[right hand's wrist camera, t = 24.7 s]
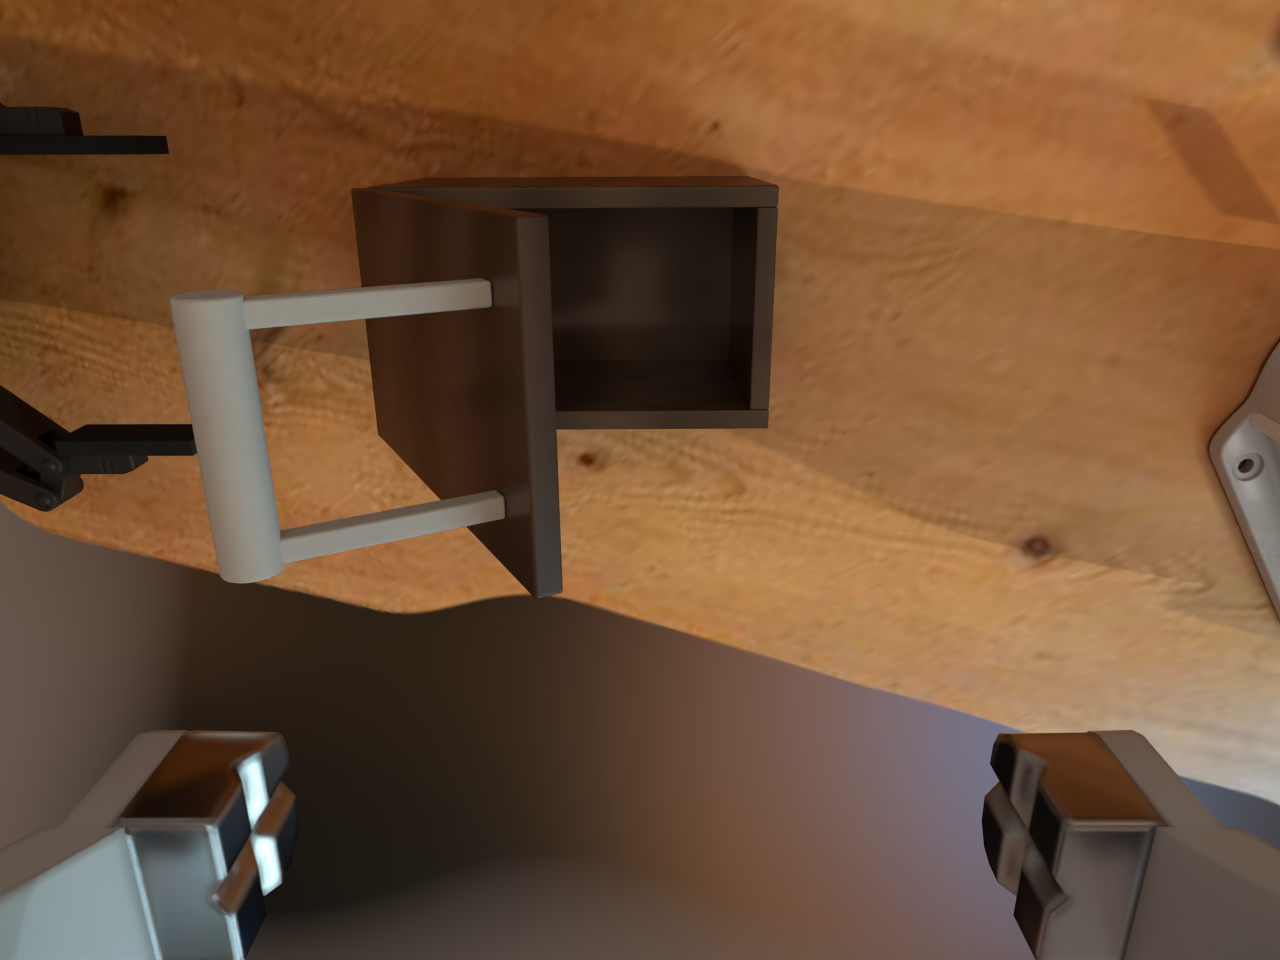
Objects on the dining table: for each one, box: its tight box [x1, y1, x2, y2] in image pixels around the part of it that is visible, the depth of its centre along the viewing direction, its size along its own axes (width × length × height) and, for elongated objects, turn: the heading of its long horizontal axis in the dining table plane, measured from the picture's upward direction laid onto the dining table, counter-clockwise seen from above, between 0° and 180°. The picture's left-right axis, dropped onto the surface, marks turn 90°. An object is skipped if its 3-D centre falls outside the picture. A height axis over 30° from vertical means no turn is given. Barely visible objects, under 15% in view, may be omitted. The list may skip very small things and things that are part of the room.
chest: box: [368, 176, 779, 429], centre depth 44 cm, size 17×10×11 cm, turn 90°
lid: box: [169, 188, 563, 599], centre depth 29 cm, size 18×10×8 cm
